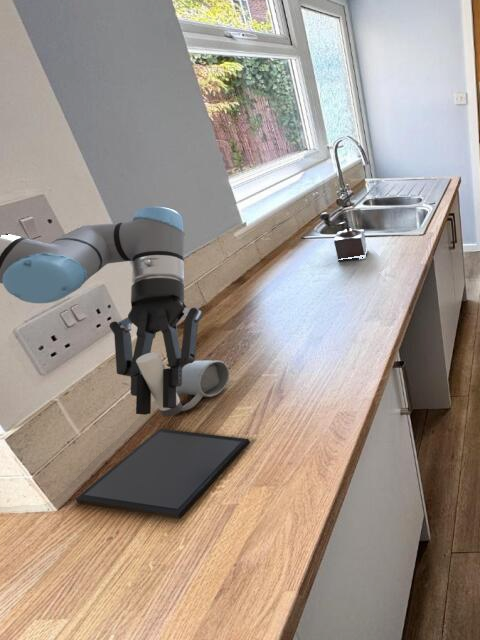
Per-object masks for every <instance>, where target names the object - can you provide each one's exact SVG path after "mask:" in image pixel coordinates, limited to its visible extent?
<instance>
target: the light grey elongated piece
mask: <svg viewBox="0 0 480 640" xmlns="http://www.w3.org/2000/svg"><path fill="white" fill-rule="evenodd" d="M136 363H137V365H138V367H139V369H140V371H141V373H142V375H143V377H144V379H145V381H146V383H147V385H148V387H149V389H150V391H151V396H152V397H153V399H154V402H155V403H156V406H157V408H158V410H159V412H160V414H161V416H162V417H163V418H169V417H173V416H175V415H177V414H179V413H180V412H182V411H181V410H182V408H183V406H184V405H183V404H182V401H181V400H180V399H181V398H179V397H178V395H177V393H176V407H175V408H163V369H166V367H165V364H164V362H163V360H162V357H161V356H160V354H159V352H157V351H151V352H150V353H147V354H145V355H142V356H141V357H139V358H138V359H137V360H136Z"/></svg>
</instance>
